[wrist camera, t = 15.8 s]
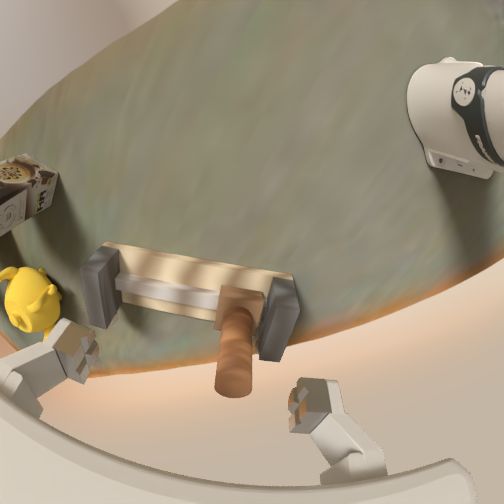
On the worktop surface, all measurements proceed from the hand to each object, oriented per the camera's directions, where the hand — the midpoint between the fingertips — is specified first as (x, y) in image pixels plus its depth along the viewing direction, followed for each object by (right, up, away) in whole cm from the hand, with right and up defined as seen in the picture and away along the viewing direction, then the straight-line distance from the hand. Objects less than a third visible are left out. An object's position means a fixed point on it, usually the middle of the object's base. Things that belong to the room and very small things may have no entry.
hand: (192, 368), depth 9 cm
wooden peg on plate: (0, -3, +31) cm, 31 cm away
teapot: (-39, -2, +33) cm, 51 cm away
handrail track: (-7, -1, +32) cm, 33 cm away
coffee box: (-33, +16, +24) cm, 44 cm away
